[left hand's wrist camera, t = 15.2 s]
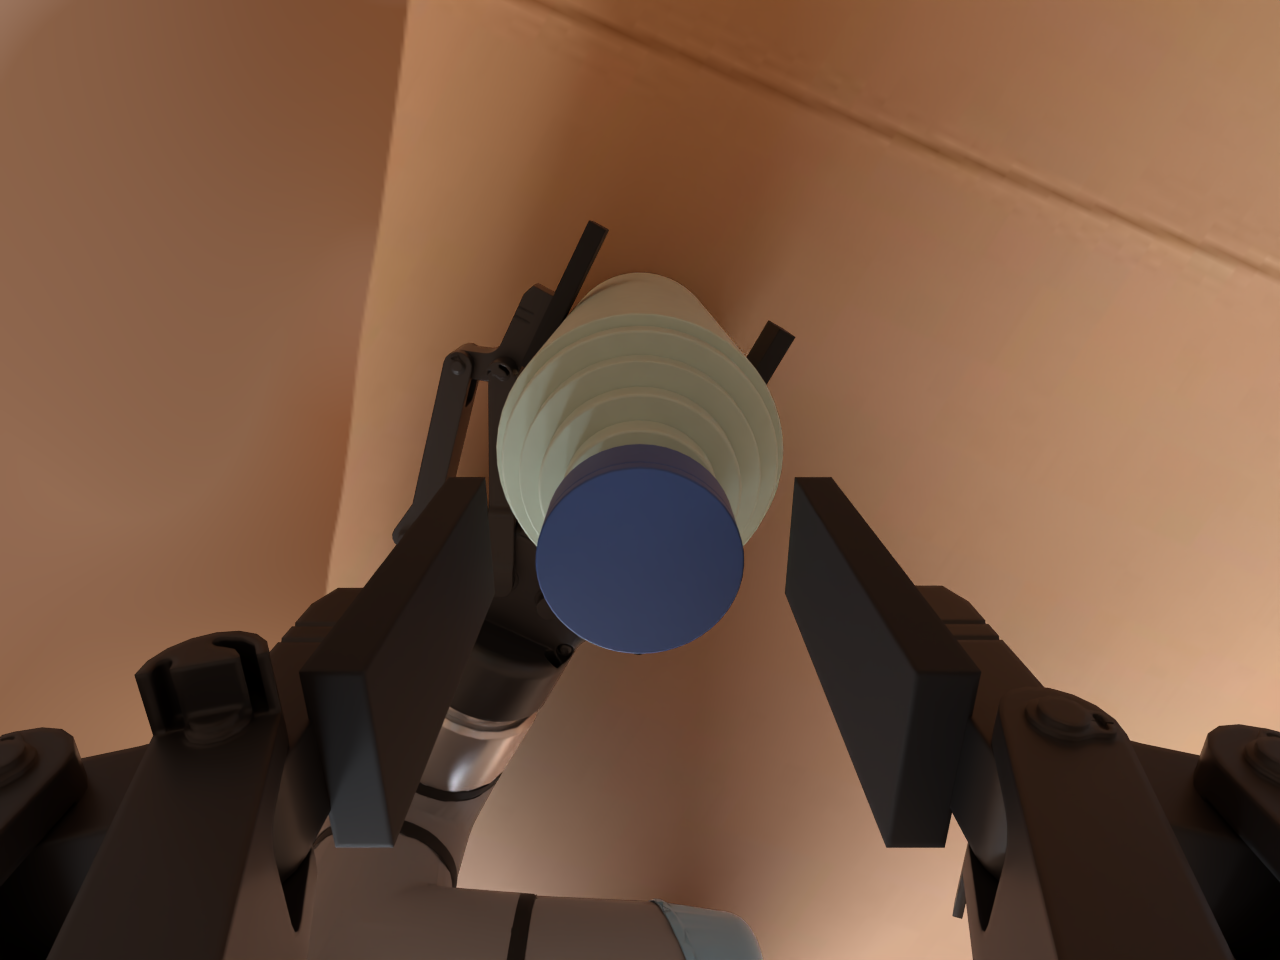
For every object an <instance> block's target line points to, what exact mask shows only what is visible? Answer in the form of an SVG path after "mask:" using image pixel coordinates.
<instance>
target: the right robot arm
mask: <svg viewBox="0 0 1280 960" xmlns="http://www.w3.org/2000/svg"><path fill="white" fill-rule="evenodd" d="M608 231H609V230H608V229H606V228H605V227H603V226H601V225H599V224H598V223H596V222H594V221H589V222H588V224H587V226H586V228H585V230H584V232H583V234H582V237H581V239H580V241H579V243H578V245H577V247H576V249H575V251H574V253H573V255H572V258H571V260H570V262H569V264H568V266H567V268H566V270H565V272H564V274H563V277H562V279H561V281H560V283H559V285H558V287H557V289H556V291H555V292H554V291H552V290H550V289H548V288H546V287H544V286H543V285H541V284H539V283H537V284H535V285H533V286H532V287H531V288H530V289H529V290H528V291H527V292H526V293H525V294H524V295H523V297H522V299H521V302H520V304H519V306H518V308H517V310H516V312H515V315H514V317H513V319H512V321H511V323H510V325H509V328H508V330H507V332H506V334H505V336H504V338H503V341H502V343H501V345H500V346H499V347H496V348H487V347H480V346H477V345H475V344H473V343H467V344H464V345H462V346H461V347H459V348H458V349H456V350H455V351H453V352H452V353H450V354H449V355H448V356H447V357H446V358H445V360H444V363H443V368H442V373H441V377H440V382H439V386H438V391H437V395H436V400H435V404H434V409H433V413H432V418H431V423H430V427H429V432H428V436H427V441H426V445H425V450H424V454H423V459H422V463H421V468H420V473H419V477H418V482H417V486H416V491H415V495H414V500H413V504H412V505H411V507H410V508H409V510H408V511H407V512H406V514H405V515H404V517H403V518H402V520H401V521H400V522H399V524H398V525H397V527H396V528H395V529H394V531H393V534H392V537H393V541H394V542H395V544H396V545H397V544H398V542H399V541H400V540H401V538H402V537H403V536H404V534H405V533H406V532H407V531H408V529H409V528H410V527H411V525H412V524H413V523H414V522H415V520H416V519H417V518H418V516H419V515H420V514H421V512H422V511H423V510H424V509H425V507H426V506H427V505H428V503H429V502H430V501H431V499H432V498H433V497H434V496H435V494H436V493H437V492H438V490H439V489H440V488H441V487H442V485H443V484H444V483H445V481H446V480H447V479H448V477H456V473H457V469H458V465H459V461H460V457H461V452H462V448H463V444H464V440H465V436H466V432H467V427H468V423H469V419H470V415H471V411H472V407H473V402H474V398H475V394H476V390H477V386H478V382H479V380H482V381H488V402H489V508H488V517H489V528H490V540H491V552H492V564H493V576H494V587H495V594H494V597H493V599H492V602H491V604H490V607H489V609H488V612H487V614H486V617H485V619H484V622H483V624H482V627H481V629H480V632H479V634H478V637H477V639H476V642H475V645H474V647H473V650H472V652H471V655H470V657H469V660H468V662H467V665H466V667H465V670H464V672H463V675H462V677H461V680H460V682H459V685H458V687H457V690H456V692H455V695H454V697H453V700H452V702H451V705H450V707H449V710H448V712H447V715H446V717H445V720H444V722H443V725H442V727H441V730H440V732H439V735H438V737H437V740H436V742H435V745H434V747H433V750H432V752H431V755H430V757H429V760H428V762H427V765H426V767H425V770H424V772H423V775H422V777H421V780H420V783H419V785H418V788H417V790H416V793H415V795H414V798H413V800H412V803H411V805H410V808H409V810H408V813H407V815H406V818H405V820H404V823H403V825H402V828H401V830H400V833H399V835H398V838H397V840H396V843H395V845H394V848H335V843H334V839H333V834H332V829H331V824H330V820H329V815H328V816H327V818H326V820H325V822H324V824H323V826H322V828H321V830H320V832H319V833H318V835H317V837H316V839H315V841H314V843H313V849H314V853H315V858H316V864H317V871H318V874H317V882H316V891H315V899H314V907H313V916H312V924H311V932H310V940H309V949H308V957H307V960H763V956H762V952H761V949H760V946H759V943H758V941H757V938H756V936H755V934H754V933H753V931H752V929H751V928H750V926H749V925H748V924H747V923H746V922H745V921H744V920H743V919H742V918H741V917H739V916H737V915H735V914H733V913H730V912H726V911H719V910H713V909H706V908H699V907H692V906H685V905H679V904H672V903H667V902H665V901H663V900H662V899H652V900H649V901H634V900H613V899H593V898H572V897H552V896H537V894H536V895H534V894H526V893H515V892H502V891H489V890H477V889H464V888H456V885H457V877H458V873H459V870H460V866H461V863H462V859H463V855H464V852H465V848H466V845H467V841H468V838H469V835H470V832H471V829H472V827H473V825H474V822H475V820H476V818H477V816H478V814H479V812H480V811H481V809H482V807H483V805H484V803H485V802H486V800H487V798H488V796H489V794H490V793H491V791H492V789H493V787H494V785H495V784H496V782H497V780H498V779H499V777H500V776H501V774H502V772H503V771H504V769H505V767H506V766H507V764H508V763H509V761H510V760H511V758H512V756H513V755H514V753H515V751H516V750H517V748H518V746H519V745H520V743H521V742H522V740H523V738H524V737H525V735H526V733H527V732H528V730H529V728H530V727H531V725H532V723H533V722H534V720H535V718H536V715H537V712H538V710H539V709H540V708H541V707H542V705H543V704H544V703H545V701H546V699H547V698H548V696H549V694H550V692H551V691H552V689H553V687H554V686H555V684H556V682H557V681H558V679H559V677H560V676H561V674H562V672H563V671H564V669H565V667H566V665H567V664H568V662H569V660H570V659H571V657H572V655H573V654H574V652H575V650H576V649H577V647H578V646H579V645H580V644H581V643H583V642H584V641H586V640H585V639H583V638H581V637H580V636H578V635H577V634H575V633H574V632H573V631H571V630H570V629H569V628H568V627H567V626H565V625H564V624H563V623H562V622H561V621H560V620H559V618H558V617H557V616H556V615H555V614H554V612H553V611H552V610H551V608H550V606H549V605H548V603H547V602H546V600H545V598H544V596H543V593H542V591H541V589H540V585H539V582H538V578H537V572H536V548H537V546H536V545H535V544H534V543H533V542H532V541H531V539H530V538H529V537H528V536H527V534H526V533H525V531H524V530H523V528H522V527H521V525H520V524H519V522H518V520H517V518H516V517H515V515H514V514H513V512H512V510H511V508H510V505H509V503H508V501H507V499H506V497H505V494H504V491H503V488H502V485H501V481H500V476H499V471H498V465H497V448H496V446H497V435H498V427H499V422H500V418H501V414H502V410H503V407H504V405H505V402H506V400H507V397H508V395H509V392H510V391H511V389H512V387H513V385H514V383H515V382H516V380H517V378H518V377H519V375H520V374H521V373H522V371H523V370H524V369H525V367H526V366H527V365H528V363H529V362H530V361H531V360H532V358H533V357H534V356H535V355H536V354H537V352H538V351H539V350H540V349H541V348H542V346H543V345H544V344H545V343H546V342H547V340H548V339H549V338H550V337H551V336H552V334H553V333H554V332H555V331H556V330H557V328H558V327H559V326H560V325H561V324H562V322H563V321H564V320H565V319H566V317H567V315H568V313H569V311H570V309H571V307H572V305H573V303H574V301H575V299H576V297H577V295H578V293H579V291H580V289H581V286H582V284H583V282H584V280H585V278H586V276H587V274H588V272H589V270H590V268H591V266H592V264H593V262H594V260H595V258H596V256H597V254H598V252H599V250H600V247H601V245H602V243H603V241H604V239H605V237H606V235H607V233H608ZM794 339H795V337H794V336H793V335H791V334H790V333H789V332H787V331H786V330H784V329H783V328H781V327H779V326H778V325H776V324H774V323H772V322H771V321H769V320H768V322H767V324H766V326H765V327H764V329H763V331H762V332H761V334H760V336H759V337H758V339H757V341H756V342H755V344H754V346H753V347H752V349H751V351H750V353H749V354H748V356H747V359H748V360H749V361H750V362H751V364H752V365H753V366H754V367H755V368H756V370H757V371H758V373H759V374H760V376H761V377H762V379H763V380H764V382H765V383H766V384H767V383H768V381H769V380H770V378H771V376H772V375H773V373H774V371H775V370H776V368H777V366H778V365H779V363H780V362H781V360H782V358H783V357H784V355H785V353H786V352H787V350H788V348H789V347H790V345H791V343H792V342H793V340H794ZM633 654H636V653H633ZM637 655H641V654H637Z"/></svg>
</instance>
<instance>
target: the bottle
mask: <svg viewBox="0 0 1280 960" xmlns="http://www.w3.org/2000/svg"><path fill="white" fill-rule="evenodd" d="M631 444H648V445H657V446H662V447H667V448H670V449H673V450H676V451H678V452H681V453H683V454H685V455H687V456H689V457H691V458H692V459H694V460H695V461H697V462H698V463H700V464H701V465H702V466H703V467H705V468H706V469H707V470H708V471H709V472H710V473H711V474H712V475H713V476H714V477H715V478H716V480H717V481H718V482H719V484H720V485H721V487H722V488H723V490H724V491H725V494H726V496H727V498H728V500H729V502H730V505H731V508H732V511H733V514H734V517H735V520H736V524H737V527H738V530H739V533H740V536H741V539H742V544H743V546H744V545H745V544H746V543H747V542H748V541H749V539H750V538H751V536H752V535H753V534H754V532H755V531H756V530H757V528H758V527H759V525H760V523H761V521H762V520H763V518H764V516H765V515H766V513H767V511H768V509H769V507H770V506H771V503H772V501H773V498H774V496H775V493H776V490H777V487H778V483H779V479H780V475H781V470H782V461H783V435H782V429H781V424H780V418H779V415H778V412H777V409H776V405H775V402H774V400H773V398H772V396H771V394H770V391H769V389H768V387H767V385H766V383H765V382H764V380H763V379H762V377H761V376H760V374H759V373H758V371H757V370H756V368H755V367H754V366H753V365H752V364H751V362H750V361H749V360H748V359H747V358H746V356H745V355H744V354H743V353H742V352H741V350H740V349H739V348H738V347H737V346H736V344H735V343H734V342H733V341H732V340H731V338H730V337H729V336H728V335H727V334H726V332H725V331H724V330H723V329H722V328H721V326H720V325H719V324H718V323H717V321H716V320H715V319H714V318H713V317H712V315H711V314H710V313H709V312H708V311H707V309H706V308H705V307H704V306H703V305H702V303H701V302H700V301H699V300H698V299H697V298H696V297H695V295H694V294H693V293H691V292H690V291H689V290H688V289H687V288H686V287H684V286H682V285H681V284H679V283H678V282H676V281H674V280H672V279H670V278H668V277H664V276H661V275H658V274H652V273H641V272H636V273H627V274H623V275H619V276H615V277H613V278H610V279H608V280H606V281H604V282H602V283H600V284H599V285H597V286H596V287H595V288H593V289H592V290H591V291H589V292H588V293H587V294H586V295H585V296H584V297H583V298H582V300H581V301H580V302H579V303H578V304H577V306H576V307H575V308H574V309H573V310H572V312H571V313H570V314H569V315H568V316H567V318H566V319H565V320H564V321H563V322H562V324H561V325H560V326H559V327H558V328H557V330H556V331H555V332H554V333H553V334H552V336H551V337H550V338H549V339H548V340H547V342H546V343H545V344H544V345H543V346H542V348H541V349H540V350H539V351H538V352H537V354H536V355H535V356H534V357H533V358H532V360H531V361H530V362H529V363H528V365H527V366H526V367H525V369H524V370H523V371H522V373H521V374H520V375H519V377H518V378H517V380H516V382H515V383H514V385H513V387H512V389H511V391H510V392H509V395H508V397H507V400H506V402H505V405H504V407H503V410H502V414H501V418H500V422H499V427H498V435H497V446H496V448H497V465H498V471H499V476H500V481H501V485H502V488H503V491H504V494H505V497H506V499H507V501H508V503H509V505H510V508H511V510H512V512H513V514H514V515H515V517H516V518H517V520H518V522H519V524H520V525H521V527H522V528H523V530H524V531H525V533H526V534H527V536H528V537H529V538H530V539H531V541H532V542H533V543H534V544H535V545H536V546H537V542H538V538H539V535H540V532H541V529H542V526H543V523H544V519H545V516H546V513H547V510H548V507H549V504H550V501H551V499H552V497H553V495H554V493H555V491H556V489H557V488H558V486H559V485H560V483H561V482H562V480H563V479H564V478H565V477H566V476H567V475H568V474H569V472H570V471H572V470H573V469H574V468H575V467H576V466H577V465H579V464H580V463H581V462H583V461H584V460H586V459H587V458H589V457H591V456H593V455H595V454H597V453H599V452H601V451H604V450H607V449H610V448H613V447H618V446H623V445H631Z"/></svg>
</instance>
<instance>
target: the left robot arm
mask: <svg viewBox="0 0 1280 960" xmlns="http://www.w3.org/2000/svg"><path fill="white" fill-rule="evenodd" d="M494 594H495V587H494V576H493V564H492V552H491V540H490V528H489V517H488V505H487V493H486V481H485V477H448V479H447V480H446V481H445V483H444V484H443V485H442V487H441V488H440V489H439V490H438V492H437V493H436V494H435V496H434V497H433V498H432V499H431V501H430V502H429V503H428V505H427V506H426V507H425V509H424V510H423V511H422V512H421V514H420V515H419V516H418V518H417V519H416V520H415V522H414V523H413V524H412V525H411V527H410V528H409V529H408V531H407V532H406V533H405V534H404V536H403V537H402V538H401V540H400V541H399V542H398V544H397V545H396V546H395V547H394V549H393V550H392V551H391V553H390V554H389V555H388V557H387V558H386V559H385V560H384V562H383V563H382V564H381V566H380V567H379V568H378V569H377V571H376V572H375V573H374V575H373V576H372V577H371V579H370V580H369V581H368V582H367V584H366V585H365V586H364V588H337V589H336V590H334V591H332V592H331V593H329V594H327V595H326V596H324V597H322V598H321V599H319V600H318V601H316V602H314V603H313V604H311V605H310V607H309V608H308V609H307V610H306V611H305V612H304V613H303V615H302V616H301V617H300V618H299V619H298V620H297V621H296V623H295V626H294V627H291V628H290V629H289V631H288V632H287V633H286V634H285V635H284V636H283V637H282V641H281V642H278V643H277V644H276V645H275V647H274V648H273V649H272V650H271V651H270V652H269V648H268V644H267V641H266V640H264V639H263V638H262V637H260V636H259V635H258V634H254V633H248V632H243V631H230V632H216V633H212V634H208V635H204V636H200V637H196V638H192V639H189V640H187V641H184V642H182V643H179V644H177V645H175V646H172V647H170V648H167V649H166V650H164V651H162V652H161V653H159V654H158V655H156V656H155V657H153V658H151V659H150V660H148V661H147V662H146V663H145V664H144V665H143V666H142V667H141V668H140V670H139V671H138V672H137V673H136V674H135V678H136V681H137V685H138V688H139V691H140V694H141V698H142V701H143V704H144V707H145V711H146V714H147V717H148V720H149V723H150V726H151V730H152V733H153V737H152V739H151V741H150V743H149V744H146V745H143V746H139V747H134V748H129V749H124V750H120V751H115V752H110V753H105V754H100V755H96V756H91V757H86V758H81V757H80V754H79V752H78V749H77V746H76V743H75V740H74V738H73V736H71V735H70V734H69V733H67V732H66V731H64V730H63V729H55V728H43V727H42V728H35V729H29V730H23V731H16V732H12V733H8V734H4V735H2V736H1V737H0V960H307V957H308V949H309V940H310V932H311V924H312V916H313V907H314V899H315V891H316V882H317V874H318V871H317V864H316V858H315V853H314V849H313V843H314V841H315V839H316V837H317V835H318V833H319V832H320V830H321V828H322V826H323V824H324V822H325V820H326V818H327V816H328V815H329V820H330V824H331V829H332V834H333V839H334V843H335V848H394V845H395V843H396V840H397V838H398V835H399V833H400V830H401V828H402V825H403V823H404V820H405V818H406V815H407V813H408V810H409V808H410V805H411V803H412V800H413V798H414V795H415V793H416V790H417V788H418V785H419V783H420V780H421V777H422V775H423V772H424V770H425V767H426V765H427V762H428V760H429V757H430V755H431V752H432V750H433V747H434V745H435V742H436V740H437V737H438V735H439V732H440V730H441V727H442V725H443V722H444V720H445V717H446V715H447V712H448V710H449V707H450V705H451V702H452V700H453V697H454V695H455V692H456V690H457V687H458V685H459V682H460V680H461V677H462V675H463V672H464V670H465V667H466V665H467V662H468V660H469V657H470V655H471V652H472V650H473V647H474V645H475V642H476V639H477V637H478V634H479V632H480V629H481V627H482V624H483V622H484V619H485V617H486V614H487V612H488V609H489V607H490V604H491V602H492V599H493V597H494ZM785 594H786V597H787V599H788V602H789V604H790V607H791V609H792V612H793V614H794V617H795V619H796V622H797V624H798V627H799V629H800V632H801V634H802V637H803V639H804V642H805V645H806V647H807V650H808V652H809V655H810V657H811V660H812V662H813V665H814V667H815V670H816V672H817V675H818V677H819V680H820V682H821V685H822V687H823V690H824V692H825V695H826V697H827V700H828V702H829V705H830V707H831V710H832V712H833V715H834V717H835V720H836V722H837V725H838V727H839V730H840V732H841V735H842V737H843V740H844V742H845V745H846V747H847V750H848V752H849V755H850V757H851V760H852V762H853V765H854V767H855V770H856V772H857V775H858V777H859V780H860V783H861V785H862V788H863V790H864V793H865V795H866V798H867V800H868V803H869V805H870V808H871V810H872V813H873V815H874V818H875V820H876V823H877V825H878V828H879V830H880V833H881V835H882V838H883V840H884V843H885V845H886V848H945V843H946V839H947V834H948V829H949V824H950V820H951V815H952V813H953V815H954V817H955V819H956V821H957V822H958V824H959V826H960V828H961V830H962V832H963V834H964V835H965V837H966V839H967V841H968V844H967V849H966V853H965V858H964V862H963V867H962V871H961V876H960V880H959V885H958V889H957V893H956V898H955V903H954V910H953V916H954V917H958V918H961V919H962V917H963V913H964V908H965V904H966V905H967V914H968V922H969V930H970V939H971V947H972V955H973V960H1280V732H1278V731H1274V730H1270V729H1266V728H1259V727H1253V726H1246V725H1240V724H1237V725H1225V726H1218V727H1217V728H1215V729H1214V730H1212V731H1211V732H1209V733H1208V735H1207V738H1206V740H1205V743H1204V746H1203V749H1202V751H1201V754H1200V755H1195V754H1190V753H1185V752H1180V751H1175V750H1171V749H1166V748H1161V747H1156V746H1151V745H1146V744H1142V743H1138V742H1134V741H1130V740H1129V738H1128V736H1127V734H1126V733H1125V732H1124V730H1123V729H1122V728H1121V726H1120V725H1119V724H1118V722H1117V721H1116V720H1115V719H1114V718H1112V717H1111V716H1110V715H1108V714H1107V713H1106V712H1104V711H1103V710H1102V709H1100V708H1099V707H1097V706H1096V705H1094V704H1092V703H1090V702H1088V701H1085V700H1083V699H1081V698H1079V697H1077V696H1075V695H1072V694H1069V693H1065V692H1062V691H1058V690H1054V689H1051V688H1044V687H1043V685H1042V684H1041V683H1040V682H1039V681H1038V680H1037V679H1036V677H1035V676H1034V675H1033V674H1032V673H1031V672H1030V671H1029V670H1028V668H1027V667H1026V666H1025V665H1024V664H1023V663H1022V662H1021V660H1020V659H1019V658H1018V657H1017V656H1016V655H1015V654H1014V653H1013V651H1012V650H1011V649H1010V648H1009V647H1008V646H1007V645H1006V643H1005V642H1004V641H1003V640H999V636H998V634H997V633H996V632H995V631H994V630H993V629H992V628H991V626H990V625H989V624H985V620H984V619H983V617H982V616H981V615H980V614H979V613H978V612H977V611H976V609H975V608H974V607H973V606H972V605H971V604H970V603H969V602H968V601H967V600H965V599H963V598H962V597H960V596H958V595H957V594H955V593H953V592H952V591H950V590H948V589H947V588H945V587H943V586H915V585H914V584H913V582H912V581H911V580H910V579H909V577H908V576H907V575H906V573H905V572H904V571H903V569H902V568H901V567H900V566H899V564H898V563H897V562H896V560H895V559H894V558H893V557H892V555H891V554H890V553H889V551H888V550H887V549H886V547H885V546H884V545H883V544H882V542H881V541H880V540H879V538H878V537H877V536H876V534H875V533H874V532H873V531H872V529H871V528H870V527H869V525H868V524H867V523H866V522H865V520H864V519H863V518H862V516H861V515H860V514H859V512H858V511H857V510H856V509H855V507H854V506H853V505H852V503H851V502H850V501H849V499H848V498H847V497H846V496H845V494H844V493H843V492H842V490H841V489H840V488H839V487H838V485H837V484H836V483H835V481H834V480H833V479H832V477H795V481H794V493H793V505H792V517H791V528H790V540H789V552H788V564H787V576H786V587H785Z"/></svg>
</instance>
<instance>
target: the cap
mask: <svg viewBox="0 0 1280 960" xmlns="http://www.w3.org/2000/svg"><path fill="white" fill-rule="evenodd" d="M743 569H744V550H743V544H742V539H741V536H740V533H739V530H738V527H737V524H736V520H735V517H734V514H733V511H732V508H731V505H730V502H729V500H728V498H727V496H726V494H725V491H724V490H723V488H722V487H721V485H720V484H719V482H718V481H717V480H716V478H715V477H714V476H713V475H712V474H711V473H710V472H709V471H708V470H707V469H706V468H705V467H703V466H702V465H701V464H700V463H698V462H697V461H695V460H694V459H692V458H691V457H689V456H687V455H685V454H683V453H681V452H678V451H676V450H673V449H670V448H667V447H662V446H657V445H648V444H631V445H623V446H618V447H613V448H610V449H607V450H604V451H601V452H599V453H597V454H595V455H593V456H591V457H589V458H587V459H586V460H584V461H583V462H581V463H580V464H579V465H577V466H576V467H575V468H574V469H573V470H572V471H570V472H569V474H568V475H567V476H566V477H565V478H564V479H563V480H562V482H561V483H560V485H559V486H558V488H557V489H556V491H555V493H554V495H553V497H552V499H551V501H550V504H549V507H548V510H547V513H546V516H545V519H544V523H543V526H542V529H541V532H540V535H539V538H538V542H537V548H536V572H537V578H538V582H539V585H540V589H541V591H542V593H543V596H544V598H545V600H546V602H547V603H548V605H549V606H550V608H551V610H552V611H553V612H554V614H555V615H556V616H557V617H558V618H559V620H560V621H561V622H562V623H563V624H564V625H565V626H567V627H568V628H569V629H570V630H571V631H573V632H574V633H575V634H577V635H578V636H580V637H581V638H583V639H585V640H587V641H588V642H590V643H593V644H595V645H598V646H600V647H603V648H606V649H609V650H613V651H618V652H624V653H636V654H644V653H656V652H662V651H667V650H670V649H674V648H677V647H680V646H682V645H685V644H687V643H689V642H691V641H693V640H695V639H697V638H698V637H700V636H702V635H703V634H704V633H706V632H707V631H708V630H710V629H711V628H712V627H713V626H714V625H715V624H716V623H717V622H718V621H719V620H720V619H721V618H722V617H723V616H724V614H725V613H726V612H727V611H728V609H729V608H730V606H731V604H732V603H733V601H734V599H735V597H736V595H737V592H738V590H739V587H740V584H741V580H742V577H743Z"/></svg>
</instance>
